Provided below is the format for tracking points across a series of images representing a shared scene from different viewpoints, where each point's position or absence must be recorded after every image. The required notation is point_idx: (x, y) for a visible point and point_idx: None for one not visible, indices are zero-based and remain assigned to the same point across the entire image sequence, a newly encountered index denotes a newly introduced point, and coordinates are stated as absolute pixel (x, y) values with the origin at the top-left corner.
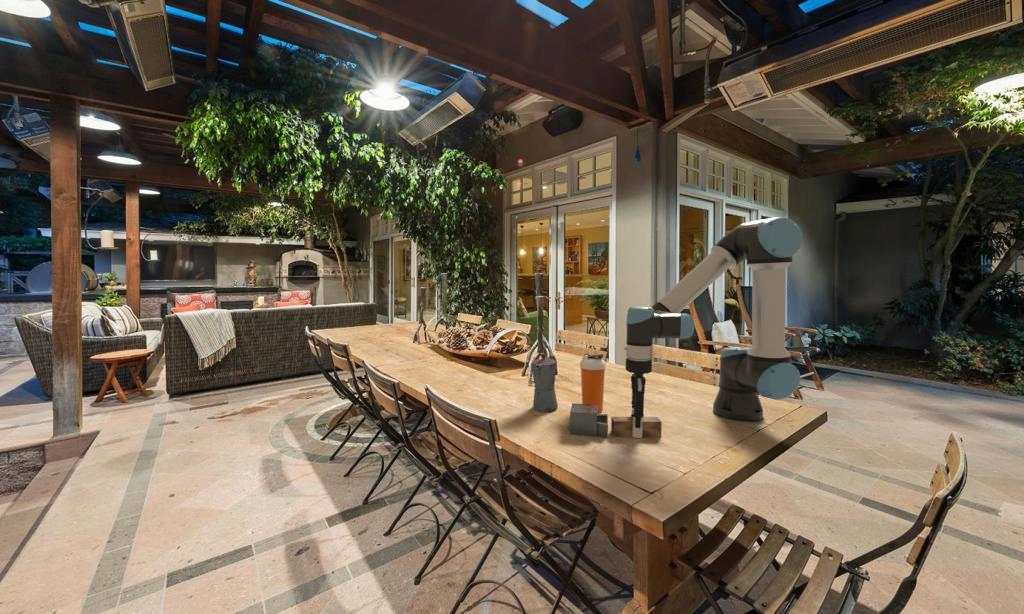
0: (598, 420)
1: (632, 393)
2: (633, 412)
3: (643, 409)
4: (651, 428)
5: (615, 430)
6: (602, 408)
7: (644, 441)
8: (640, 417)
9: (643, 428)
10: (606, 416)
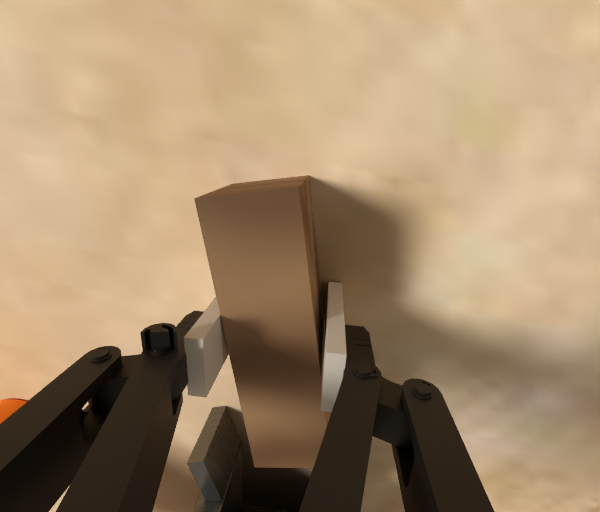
0: (229, 471)
1: (52, 505)
2: (211, 375)
3: (465, 448)
4: (311, 246)
5: (330, 414)
6: (13, 409)
7: (377, 275)
8: (386, 382)
9: (315, 292)
10: (208, 458)
